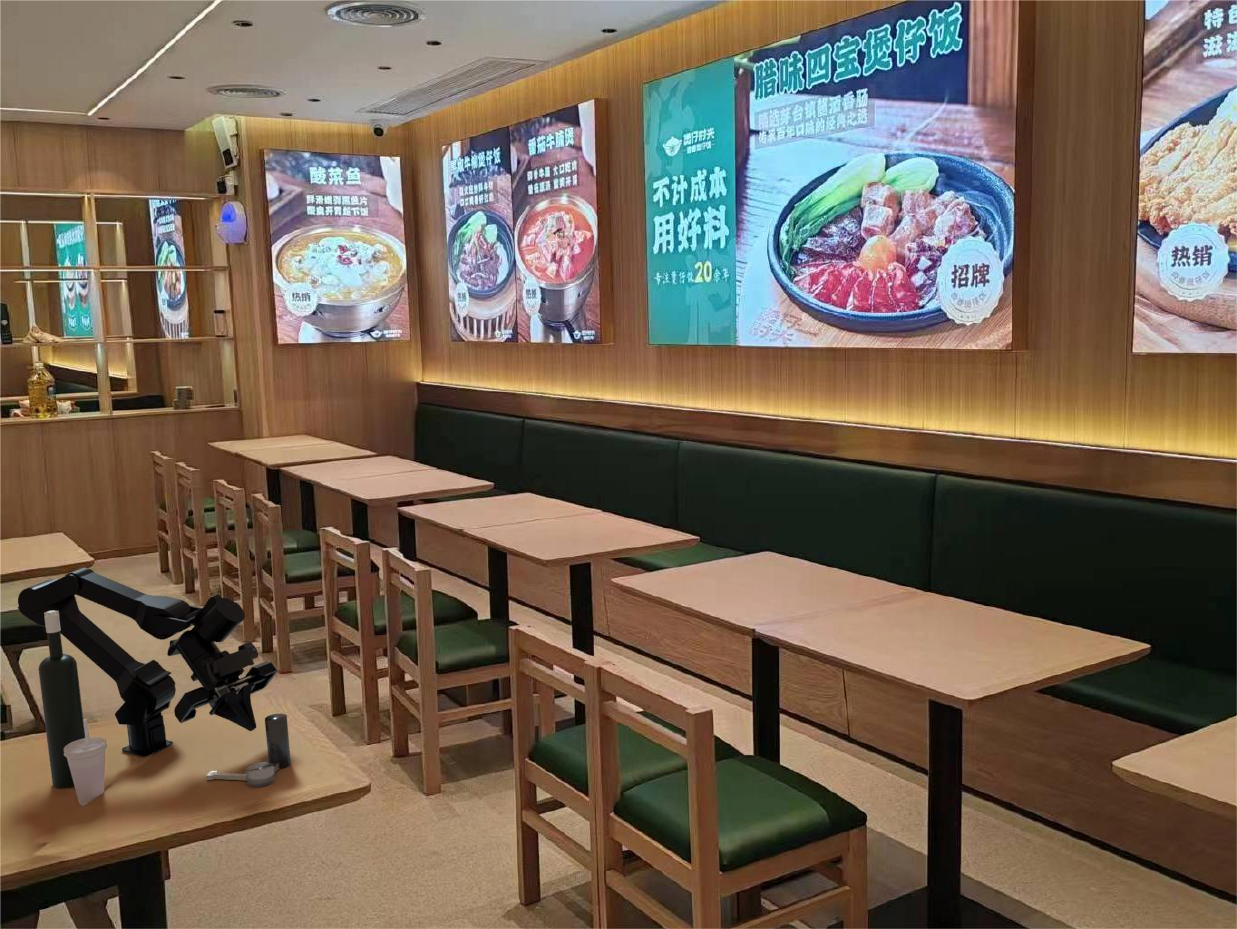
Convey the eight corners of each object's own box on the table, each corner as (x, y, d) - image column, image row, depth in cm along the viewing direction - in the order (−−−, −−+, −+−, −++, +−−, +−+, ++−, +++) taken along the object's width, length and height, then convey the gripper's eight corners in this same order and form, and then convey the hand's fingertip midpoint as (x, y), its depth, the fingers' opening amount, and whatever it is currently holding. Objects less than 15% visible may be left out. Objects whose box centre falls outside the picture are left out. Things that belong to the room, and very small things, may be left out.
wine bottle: (90, 783, 188) (70, 613, 183) (52, 791, 186) (31, 618, 181) (89, 771, 193) (70, 604, 188) (52, 778, 191) (32, 610, 186)
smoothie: (96, 810, 178) (86, 728, 176) (61, 808, 179) (50, 726, 177) (121, 792, 184) (112, 712, 182) (87, 790, 185) (77, 711, 183)
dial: (266, 788, 181) (262, 738, 180) (202, 784, 183) (197, 735, 182) (296, 760, 191) (292, 714, 190) (235, 757, 193) (230, 711, 192)
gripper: (178, 648, 184) (229, 722, 180) (265, 617, 200) (314, 685, 196) (152, 686, 189) (201, 759, 186) (240, 653, 205) (287, 720, 201)
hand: (253, 729), depth 192 cm, fingers closed
